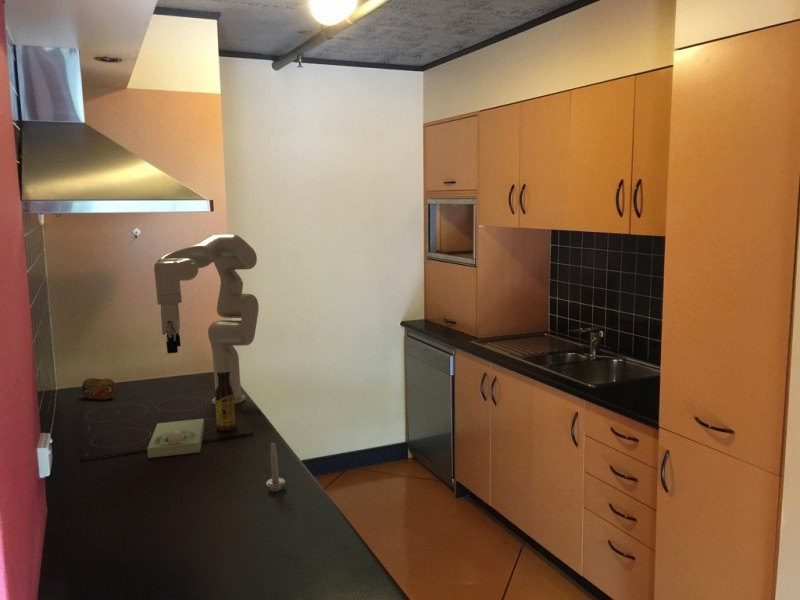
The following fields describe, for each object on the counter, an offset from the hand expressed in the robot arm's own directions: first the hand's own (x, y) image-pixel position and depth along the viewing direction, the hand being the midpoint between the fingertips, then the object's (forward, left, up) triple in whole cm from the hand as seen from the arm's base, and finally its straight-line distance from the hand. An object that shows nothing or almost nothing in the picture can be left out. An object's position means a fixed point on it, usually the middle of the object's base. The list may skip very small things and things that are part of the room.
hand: (174, 349), depth 217 cm
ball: (+16, 0, -25) cm, 30 cm away
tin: (-53, -36, -28) cm, 70 cm away
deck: (+11, 0, -28) cm, 30 cm away
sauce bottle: (+3, +15, -28) cm, 32 cm away
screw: (+58, +29, -28) cm, 71 cm away
